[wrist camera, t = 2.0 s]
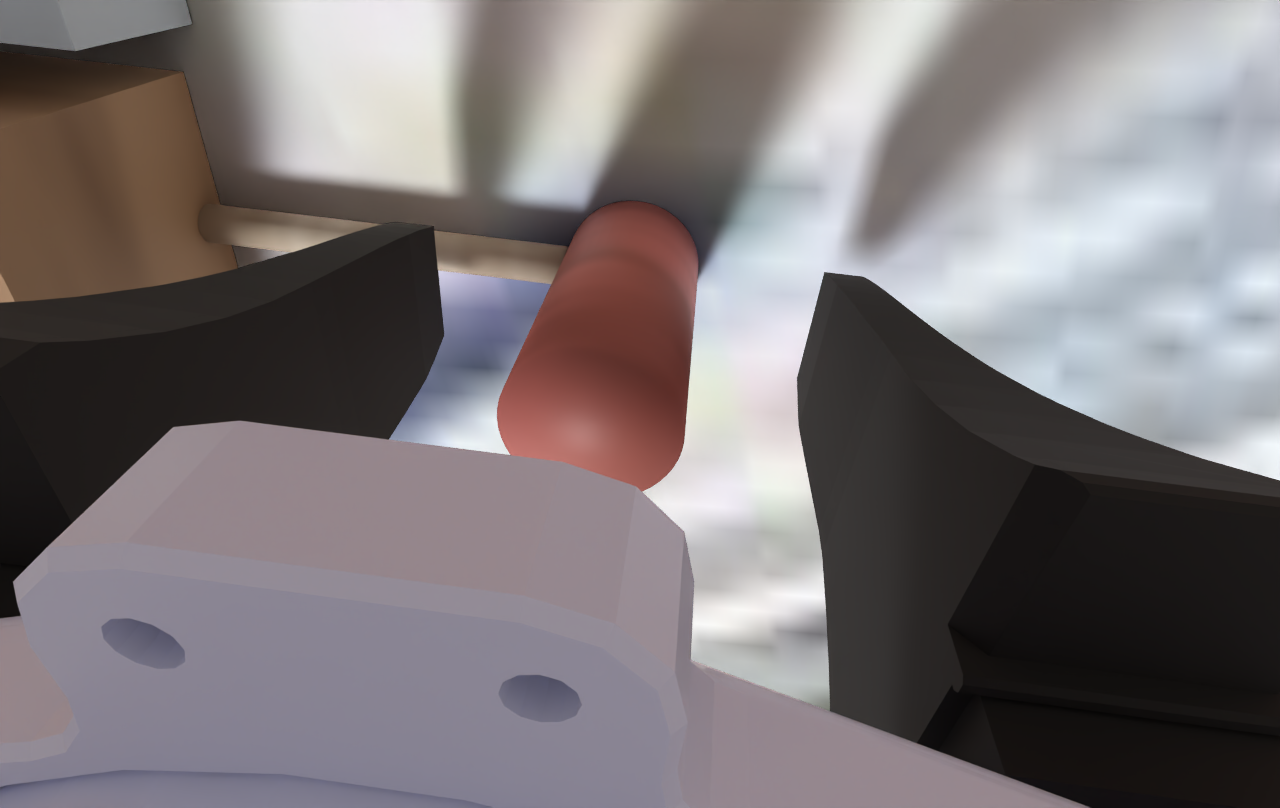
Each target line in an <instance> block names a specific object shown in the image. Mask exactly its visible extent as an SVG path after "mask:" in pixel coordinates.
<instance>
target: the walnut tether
mask: <svg viewBox="0 0 1280 808" xmlns="http://www.w3.org/2000/svg"><path fill="white" fill-rule="evenodd" d="M378 225H382V224H376V223H368V222H360V221H351V220H343V219H335V218H326V217H318V216H309V215H301V214H293V213H284V212H276V211H267V210H259V209H251V208H242V207H234V206H225V205H220V201H219V198H218V194H217V191H216V187H215V183H214V180H213V176H212V173H211V169H210V165H209V162H208V158H207V155H206V151H205V148H204V144H203V140H202V137H201V133H200V130H199V126H198V122H197V119H196V115H195V112H194V108H193V105H192V101H191V97H190V94H189V90H188V87H187V83H186V79H185V76H184V72H181V71H172V70H163V69H154V68H146V67H137V66H128V65H119V64H110V63H101V62H92V61H83V60H74V59H66V58H57V57H48V56H39V55H30V54H21V53H12V52H3V51H0V303H2V302H18V301H34V300H45V299H57V298H68V297H78V296H86V295H94V294H101V293H108V292H116V291H123V290H130V289H137V288H145V287H152V286H158V285H164V284H169V283H174V282H179V281H184V280H189V279H194V278H199V277H204V276H208V275H212V274H217V273H221V272H225V271H229V270H233V269H237V268H238V266H237V262H236V259H235V255H234V252H233V248H232V245H234V246H242V247H250V248H259V249H267V250H275V251H283V252H295V251H298V250H301V249H304V248H307V247H310V246H314V245H317V244H320V243H323V242H326V241H329V240H332V239H335V238H338V237H341V236H344V235H347V234H350V233H353V232H356V231H360V230H363V229H366V228H370V227H374V226H378ZM434 234H435V245H436V255H437V265H438V270H440V271H448V272H457V273H465V274H473V275H481V276H490V277H498V278H506V279H514V280H523V281H531V282H539V283H547V284H551V286H550V288H549V291H548V293H547V295H546V297H545V299H544V301H543V304H542V306H541V308H540V310H539V312H538V314H537V316H536V319H535V321H534V323H533V325H532V327H531V329H530V332H529V334H528V336H527V338H526V340H525V342H524V345H523V347H522V349H521V351H520V353H519V355H518V358H517V360H516V362H515V364H514V366H513V368H512V371H511V373H510V375H509V377H508V379H507V381H506V383H505V386H504V388H503V390H502V393H501V395H500V398H499V402H498V407H497V421H498V428H499V431H500V435H501V438H502V440H503V442H504V444H505V447H506V448H507V450H508V451H509V453H510V455H513V456H521V457H529V458H536V459H544V460H552V461H560V462H565V463H568V464H571V465H574V466H577V467H580V468H583V469H586V470H588V471H591V472H594V473H597V474H600V475H603V476H606V477H609V478H612V479H615V480H618V481H621V482H624V483H627V484H630V485H633V486H636V487H637V488H638V489H639V490H640V491H644V490H646V489H648V488H650V487H652V486H653V485H655V484H656V483H658V482H659V481H661V480H662V479H663V478H664V477H665V476H666V475H667V474H668V473H669V472H670V471H671V470H672V468H673V467H674V466H675V464H676V462H677V461H678V459H679V456H680V454H681V452H682V448H683V444H684V437H685V424H686V412H687V400H688V388H689V376H690V364H691V351H692V339H693V327H694V315H695V303H696V291H697V278H698V265H699V264H698V254H697V249H696V246H695V243H694V241H693V239H692V237H691V235H690V233H689V232H688V230H687V229H686V227H685V226H684V225H683V224H682V223H681V222H680V221H679V220H678V219H677V218H676V217H675V216H674V215H672V214H671V213H669V212H668V211H666V210H665V209H663V208H660V207H658V206H656V205H653V204H650V203H646V202H641V201H620V202H616V203H611V204H609V205H606V206H603V207H601V208H600V209H598V210H596V211H595V212H593V213H592V214H590V215H589V216H588V217H587V218H586V219H585V220H584V221H583V222H582V223H581V225H580V226H579V227H578V229H577V231H576V233H575V234H574V237H573V239H572V241H571V243H570V245H569V247H567V246H561V245H553V244H544V243H536V242H528V241H519V240H511V239H502V238H494V237H486V236H477V235H469V234H460V233H452V232H444V231H435V230H434Z"/></svg>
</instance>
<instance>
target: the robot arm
mask: <svg viewBox="0 0 1280 808" xmlns="http://www.w3.org/2000/svg"><path fill="white" fill-rule="evenodd" d="M443 337H444V328H443V317H442V307H441V297H440V286H439V276H438V265H437V255H436V245H435V234H434V226H426V225H417V224H409V223H400V222H395V223H387V224H382V225H378V226H374V227H370V228H366V229H363V230H360V231H356V232H353V233H350V234H347V235H344V236H341V237H338V238H335V239H332V240H329V241H326V242H323V243H320V244H317V245H314V246H310V247H307V248H304V249H301V250H298V251H295V252H292V253H288V254H285V255H282V256H278V257H275V258H271V259H268V260H264V261H261V262H258V263H254V264H251V265H247V266H244V267H241V268H237V269H233V270H229V271H225V272H221V273H217V274H212V275H208V276H204V277H199V278H194V279H189V280H184V281H179V282H174V283H169V284H164V285H158V286H152V287H145V288H137V289H130V290H123V291H116V292H108V293H101V294H94V295H86V296H78V297H68V298H57V299H45V300H34V301H18V302H2V303H0V808H1280V481H1279V480H1276V479H1272V478H1269V477H1265V476H1261V475H1258V474H1254V473H1251V472H1247V471H1244V470H1240V469H1237V468H1233V467H1230V466H1226V465H1223V464H1219V463H1215V462H1212V461H1208V460H1205V459H1202V458H1199V457H1195V456H1192V455H1189V454H1186V453H1184V452H1181V451H1178V450H1175V449H1172V448H1169V447H1166V446H1163V445H1161V444H1158V443H1155V442H1152V441H1149V440H1146V439H1143V438H1140V437H1138V436H1135V435H1133V434H1130V433H1127V432H1125V431H1122V430H1120V429H1117V428H1115V427H1112V426H1109V425H1107V424H1104V423H1102V422H1100V421H1097V420H1095V419H1093V418H1091V417H1088V416H1086V415H1084V414H1082V413H1079V412H1077V411H1075V410H1072V409H1070V408H1068V407H1066V406H1063V405H1061V404H1059V403H1057V402H1055V401H1053V400H1051V399H1049V398H1047V397H1044V396H1042V395H1040V394H1038V393H1036V392H1034V391H1033V390H1031V389H1029V388H1027V387H1025V386H1023V385H1022V384H1020V383H1018V382H1016V381H1014V380H1012V379H1011V378H1009V377H1007V376H1005V375H1003V374H1002V373H1000V372H998V371H996V370H995V369H993V368H991V367H990V366H988V365H986V364H985V363H983V362H982V361H980V360H978V359H977V358H975V357H974V356H972V355H971V354H969V353H968V352H966V351H965V350H963V349H962V348H960V347H959V346H957V345H956V344H954V343H953V342H952V341H950V340H949V339H947V338H946V337H945V336H943V335H942V334H940V333H939V332H938V331H936V330H935V329H934V328H932V327H931V326H930V325H928V324H927V323H926V322H924V321H923V320H922V319H920V318H919V317H918V316H916V315H915V314H914V313H913V312H911V311H910V310H909V309H907V308H906V307H905V306H904V305H902V304H901V303H900V302H899V301H897V300H896V299H895V298H893V297H892V296H891V295H890V294H888V293H887V292H886V291H884V290H883V289H882V288H880V287H879V286H878V285H876V284H875V283H873V282H872V281H870V280H868V279H866V278H864V277H861V276H852V275H844V274H835V273H827V272H824V276H823V280H822V284H821V288H820V292H819V296H818V299H817V303H816V307H815V311H814V315H813V319H812V323H811V327H810V330H809V334H808V338H807V342H806V346H805V350H804V354H803V358H802V362H801V365H800V369H799V373H798V377H797V391H798V420H799V430H800V435H801V441H802V446H803V452H804V457H805V462H806V467H807V473H808V478H809V483H810V488H811V493H812V498H813V503H814V508H815V513H816V518H817V523H818V529H819V535H820V542H821V549H822V557H823V571H824V586H825V600H826V617H827V637H828V657H829V686H830V711H828V710H825V709H822V708H820V707H817V706H814V705H812V704H809V703H806V702H804V701H801V700H798V699H795V698H793V697H790V696H787V695H785V694H782V693H779V692H776V691H774V690H771V689H768V688H766V687H763V686H760V685H758V684H755V683H752V682H749V681H747V680H744V679H741V678H739V677H736V676H733V675H730V674H728V673H725V672H722V671H720V670H717V669H714V668H712V667H709V666H706V665H703V664H701V663H698V662H695V661H693V660H691V640H692V618H693V596H694V578H693V573H692V568H691V563H690V558H689V553H688V548H687V543H686V538H685V533H684V531H683V530H682V529H681V528H680V527H679V526H678V525H676V524H675V523H674V522H673V521H672V520H671V519H670V518H669V517H668V516H667V515H666V514H665V513H664V512H663V511H662V510H661V509H660V508H658V507H657V506H656V505H655V504H654V503H653V502H652V501H651V500H650V499H649V498H648V497H647V496H646V495H645V494H644V493H643V492H642V491H640V490H639V489H638V488H637V487H636V486H633V485H630V484H627V483H624V482H621V481H618V480H615V479H612V478H609V477H606V476H603V475H600V474H597V473H594V472H591V471H588V470H586V469H583V468H580V467H577V466H574V465H571V464H568V463H565V462H560V461H552V460H544V459H536V458H529V457H521V456H513V455H505V454H497V453H489V452H481V451H474V450H466V449H458V448H450V447H442V446H434V445H426V444H419V443H411V442H403V441H395V440H389V438H390V437H391V435H392V433H393V432H394V430H395V429H396V427H397V425H398V424H399V422H400V421H401V419H402V418H403V416H404V414H405V413H406V411H407V410H408V408H409V406H410V405H411V403H412V402H413V400H414V398H415V397H416V395H417V393H418V392H419V390H420V389H421V387H422V385H423V384H424V382H425V380H426V378H427V376H428V374H429V371H430V369H431V367H432V364H433V362H434V360H435V357H436V355H437V352H438V350H439V347H440V345H441V342H442V339H443Z"/></svg>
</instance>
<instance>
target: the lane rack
mask: <svg viewBox="0 0 1280 808" xmlns="http://www.w3.org/2000/svg"><path fill="white" fill-rule="evenodd" d="M191 24H192V22H191V18H190V14H189V10H188V6H187V3H186V0H0V43H7V44H16V45H25V46H34V47H43V48H52V49H61V50H70V51H78V50H82V49H87V48H91V47H95V46H100V45H104V44H108V43H113V42H117V41H121V40H126V39H130V38H135V37H139V36H143V35H148V34H152V33H156V32H161V31H165V30H169V29H174V28H178V27H182V26H187V25H191Z"/></svg>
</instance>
